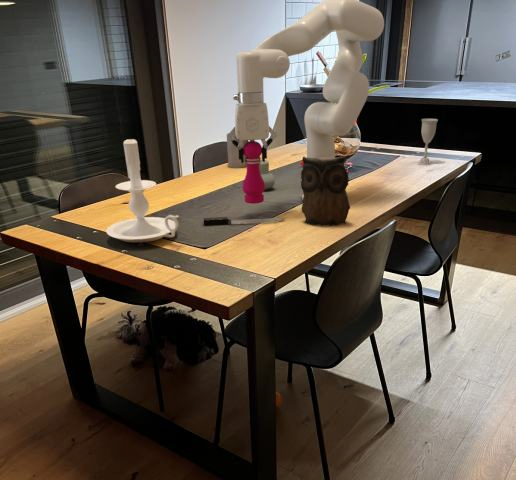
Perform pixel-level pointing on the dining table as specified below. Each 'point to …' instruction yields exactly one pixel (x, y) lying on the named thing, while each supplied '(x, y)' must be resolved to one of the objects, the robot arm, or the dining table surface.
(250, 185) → the pepper mill
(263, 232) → the dining table surface
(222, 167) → the dining table surface
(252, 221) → the knife
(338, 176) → the owl
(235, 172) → the dining table surface
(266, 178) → the air freshener
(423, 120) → the chalice
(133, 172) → the candlestick
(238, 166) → the pillar candle
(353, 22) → the robot arm
